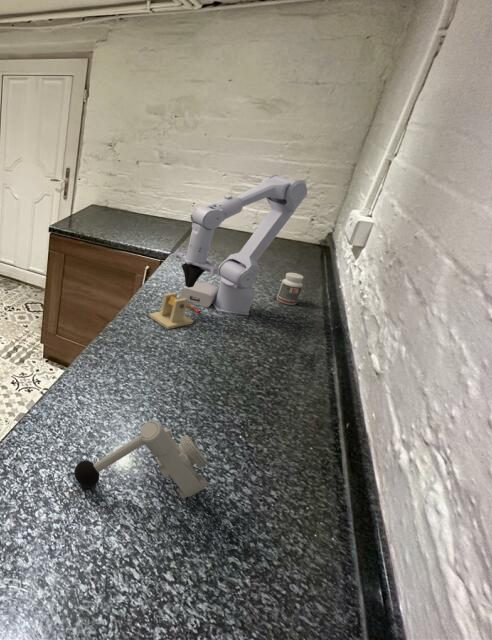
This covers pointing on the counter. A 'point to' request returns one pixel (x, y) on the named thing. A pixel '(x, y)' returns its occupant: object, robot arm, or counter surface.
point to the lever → (171, 302)
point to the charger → (200, 294)
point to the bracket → (172, 312)
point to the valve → (169, 454)
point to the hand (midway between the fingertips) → (189, 286)
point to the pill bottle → (290, 289)
